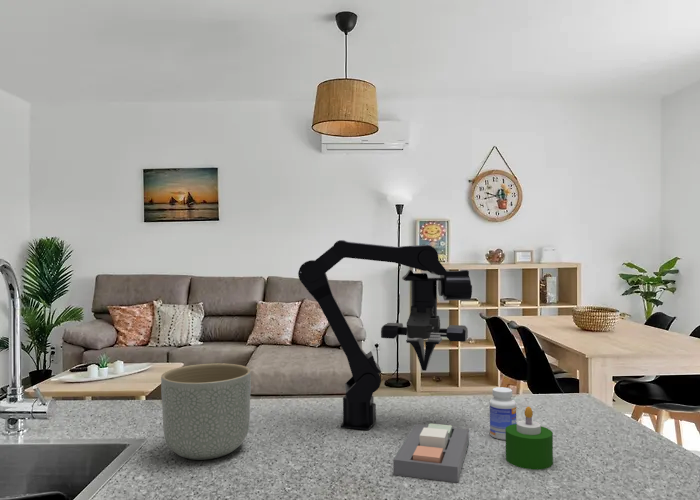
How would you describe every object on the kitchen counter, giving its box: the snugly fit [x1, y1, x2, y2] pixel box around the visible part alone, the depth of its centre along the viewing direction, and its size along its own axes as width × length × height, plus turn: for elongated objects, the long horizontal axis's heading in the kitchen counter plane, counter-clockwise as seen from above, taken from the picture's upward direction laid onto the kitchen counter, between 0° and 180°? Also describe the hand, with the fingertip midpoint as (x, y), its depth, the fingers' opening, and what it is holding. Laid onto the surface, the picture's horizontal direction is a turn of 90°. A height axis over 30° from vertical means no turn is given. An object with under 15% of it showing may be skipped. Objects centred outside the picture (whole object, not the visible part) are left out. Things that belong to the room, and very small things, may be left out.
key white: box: [420, 427, 448, 450], centre depth 101 cm, size 5×5×2 cm
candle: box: [505, 406, 554, 471], centre depth 99 cm, size 8×8×10 cm
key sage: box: [427, 423, 453, 438], centre depth 107 cm, size 5×5×2 cm
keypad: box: [392, 423, 470, 484], centre depth 101 cm, size 11×20×3 cm, turn 162°
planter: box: [160, 362, 252, 461], centre depth 105 cm, size 17×17×15 cm
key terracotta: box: [413, 446, 443, 463], centre depth 95 cm, size 5×5×2 cm
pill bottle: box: [488, 386, 517, 441], centre depth 112 cm, size 5×5×10 cm
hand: (424, 370), depth 120 cm, fingers closed
